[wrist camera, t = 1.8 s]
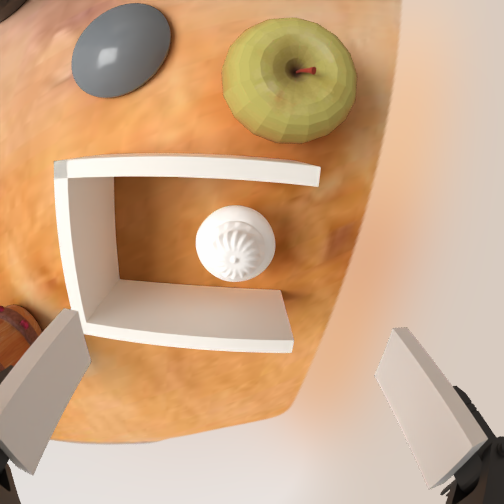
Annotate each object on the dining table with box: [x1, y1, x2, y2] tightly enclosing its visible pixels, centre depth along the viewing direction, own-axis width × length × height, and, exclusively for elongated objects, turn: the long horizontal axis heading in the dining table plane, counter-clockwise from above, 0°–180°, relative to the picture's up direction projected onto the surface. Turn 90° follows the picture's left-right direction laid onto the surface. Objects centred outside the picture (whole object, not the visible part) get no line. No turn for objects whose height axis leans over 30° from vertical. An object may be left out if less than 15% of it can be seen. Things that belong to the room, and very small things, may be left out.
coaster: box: [72, 3, 171, 98], centre depth 19 cm, size 10×10×1 cm
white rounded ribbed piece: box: [196, 205, 275, 282], centre depth 23 cm, size 6×6×7 cm
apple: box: [221, 18, 357, 144], centre depth 18 cm, size 10×10×8 cm
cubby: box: [54, 153, 321, 353], centre depth 22 cm, size 13×17×8 cm
